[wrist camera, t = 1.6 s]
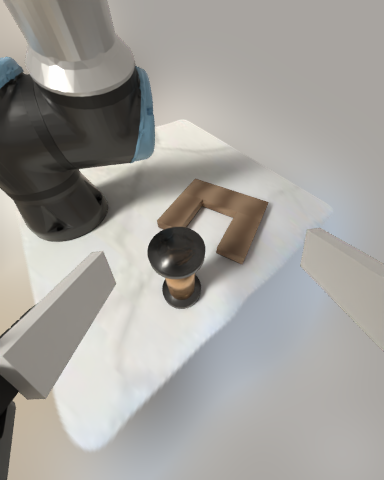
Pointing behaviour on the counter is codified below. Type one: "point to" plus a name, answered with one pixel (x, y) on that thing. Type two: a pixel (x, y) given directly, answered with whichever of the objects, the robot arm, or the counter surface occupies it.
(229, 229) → the notched board
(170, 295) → the bobbin
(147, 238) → the counter surface
